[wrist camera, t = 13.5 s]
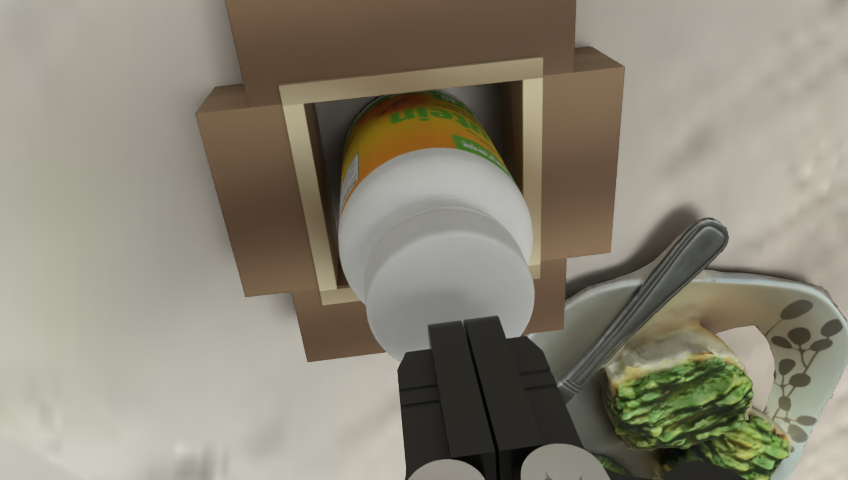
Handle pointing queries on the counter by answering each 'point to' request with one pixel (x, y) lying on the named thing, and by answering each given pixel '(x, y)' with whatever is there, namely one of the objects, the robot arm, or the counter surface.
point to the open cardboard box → (391, 74)
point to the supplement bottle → (431, 221)
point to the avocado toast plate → (694, 364)
